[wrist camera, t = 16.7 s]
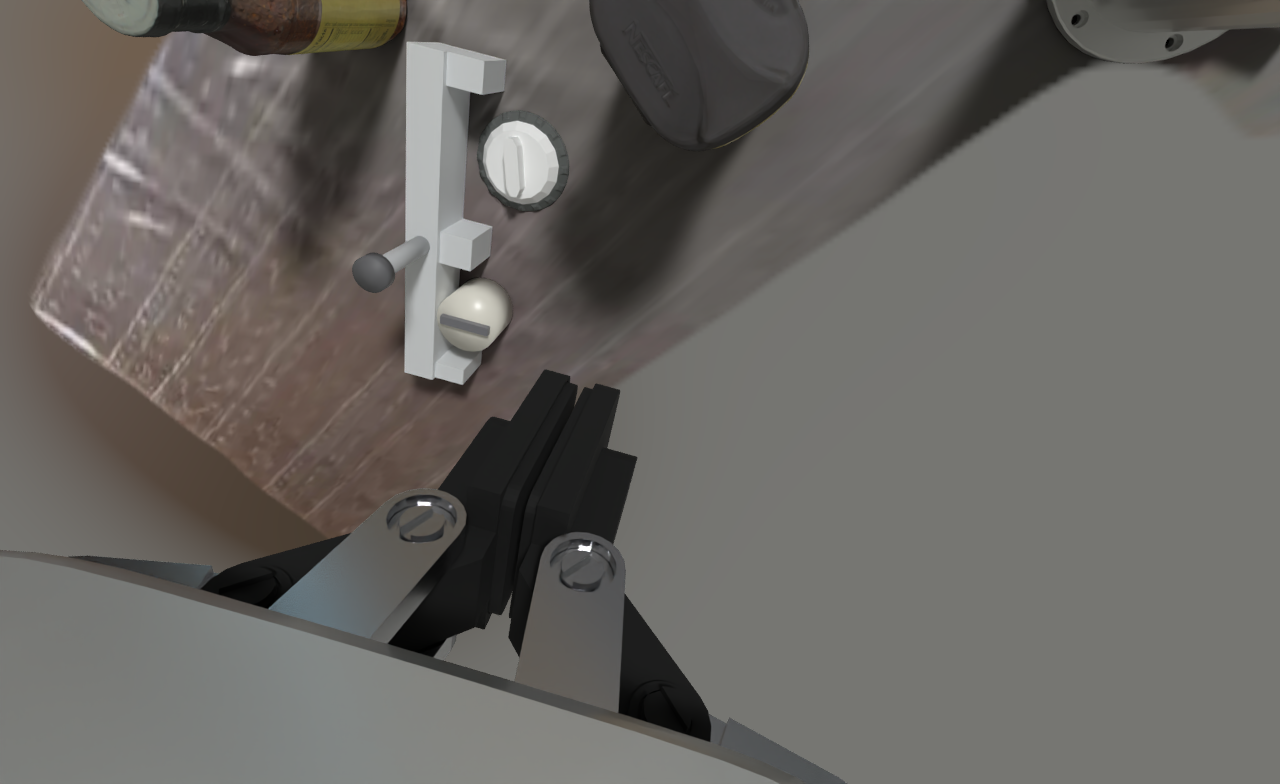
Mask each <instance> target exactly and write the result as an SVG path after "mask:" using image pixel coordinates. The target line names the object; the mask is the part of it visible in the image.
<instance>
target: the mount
mask: <svg viewBox="0 0 1280 784" xmlns="http://www.w3.org/2000/svg"><path fill="white" fill-rule="evenodd" d="M506 62H507V60H504V59H500V58H497V57H493V56H489V55H485V54H481V53H477V52H473V51H470V50H466V49H462V48H458V47H454V46H450V45H447V44H443V43H439V42H407V74H406V242H405V243H403V244H402V245H400V246H398V247H396V248H394V249H393V250H391V251H389V252H387V253H385V254H384V255H381V254H378V253H369V254H367V255H365V256H363V257H361V258H359V259H357V260H356V261H355V262H354V264H353V268H352V272H353V276H354V279H355V280H356V282H357V283H358V285H359V286H360V287H362V288H363V289H364V290H366V291H368V292H372V293H378V292H381V291H382V290H384V289H386V288H387V287H389V286H390V285H391V284H392V283H393V282H394V279H395V273H396V272H398V271H399V270H401V269H402V268H404V267H405V373H409V374H413V375H416V376H420V377H423V378H427V379H431V380H433V379H434V378H435V377H436V378H439V379H443V380H447V381H450V382H454V383H457V384H461V385H463V384H464V383H465V382H466V381H467V379H468V378H469V377H470V376H471V375H472V374H473V373H474V371H475V370H476V369H477V368H478V367H479V366H480V365H481V358H482V350H481V351H476V352H471V351H465V350H462V349H459V348H457V347H456V346H454V345H452V344H451V343H450V342H449V341H448V340H447V339H446V338H445V337H444V336H443V334H442V332H441V331H440V328H439V326H438V322H437V311H438V308H439V306H440V304H441V303H442V302H443V300H445V299H446V298H447V297H448V296H450V295H451V294H452V293H453V292H455V291H456V290H457V289H458V288H459V281H460V269H463V270H467V271H471V270H473V269H474V268H475V267H477V266H478V265H479V264H480V263H482V262H483V261H484V260H486V259H487V258H488V257H489V256H490V252H491V240H492V228H493V227H492V226H488V225H485V224H481V223H477V222H474V221H470V220H466V219H463V211H464V193H465V176H466V159H467V141H468V124H469V106H470V92H473V93H477V94H481V95H485V94H491V93H497V92H503V91H504V86H505V74H506Z"/></svg>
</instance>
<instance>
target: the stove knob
mask: <svg viewBox="0 0 1280 784" xmlns="http://www.w3.org/2000/svg"><path fill="white" fill-rule="evenodd" d="M477 159H478V163H479V169H480V175H481V177H482V178H483V180H484V182H485V183H486V185H487V187H488V190H489V191H490V192H491V193H492V194H493V195H494V196H496V197H497V198H498V199H499V200H500V201H501V202H502V203H503V204H505V205H506V206H510V207H512V208H515V209H517V210H520V211H536V210H540V209H543V208H545V207H547V206H549V205H551V204H552V203H553V202H554V201H556V200H557V199H558V197H559V196H560V195H561V194H562V192H563V190H564V188H565V186H566V183H567V179H568V175H569V160H568V154H567V151H566V148H565V145H564V143H563V141H562V139H561V137H560V135H559V134H558V133H557V131H556V130H555V129H554V128H553V127H552V126H551V125H550V124H549V123H548V122H547V121H546V120H544V119H543V118H541V117H540V116H538V115H535V114H533V113H530V112H525V111H510V112H506V113H503V114H501V115H499V116H497V117H496V118H494V119H493V120H492V121H491V122H490V123H489V124H488V125H487V127H486V128H485V130H484V131H483V133H482V134H481V136H480V139H479V146H478V151H477Z"/></svg>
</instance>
